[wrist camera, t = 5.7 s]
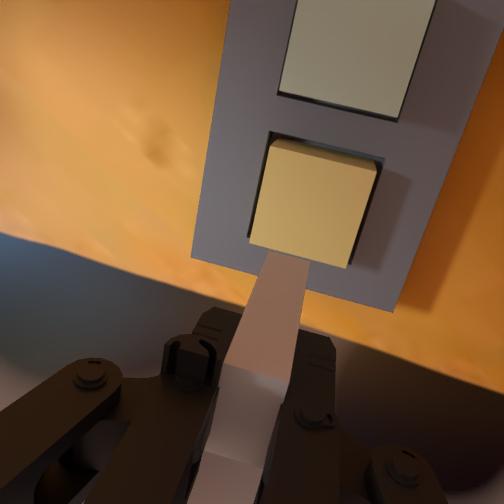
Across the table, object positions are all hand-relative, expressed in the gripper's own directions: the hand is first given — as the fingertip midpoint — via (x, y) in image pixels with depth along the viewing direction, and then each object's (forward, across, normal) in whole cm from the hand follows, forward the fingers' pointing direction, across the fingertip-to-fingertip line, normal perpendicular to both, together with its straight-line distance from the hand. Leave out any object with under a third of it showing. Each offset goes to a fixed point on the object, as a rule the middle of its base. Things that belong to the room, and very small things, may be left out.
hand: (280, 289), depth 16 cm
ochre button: (+14, 0, 0) cm, 14 cm away
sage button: (+13, 0, +9) cm, 16 cm away
